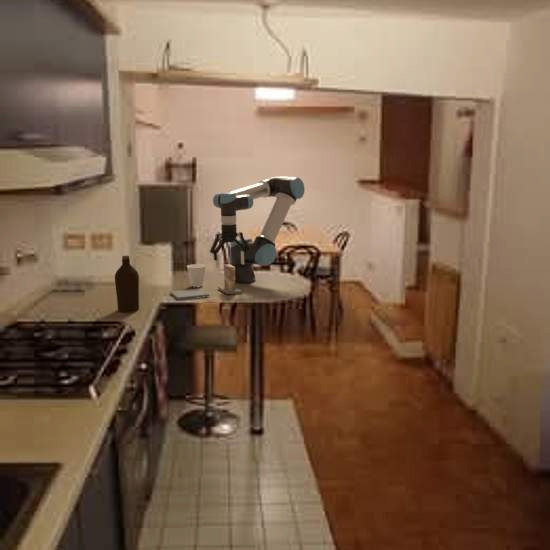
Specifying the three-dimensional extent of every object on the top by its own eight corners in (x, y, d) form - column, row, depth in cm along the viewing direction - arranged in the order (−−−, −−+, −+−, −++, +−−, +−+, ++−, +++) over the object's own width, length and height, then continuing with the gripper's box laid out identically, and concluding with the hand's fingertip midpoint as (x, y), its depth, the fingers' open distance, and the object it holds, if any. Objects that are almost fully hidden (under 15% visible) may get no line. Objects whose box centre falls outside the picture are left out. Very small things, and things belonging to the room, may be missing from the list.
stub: (232, 287, 325) (232, 262, 322) (242, 293, 312) (241, 267, 310) (218, 288, 322) (217, 263, 319) (227, 294, 309) (226, 268, 306)
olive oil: (137, 313, 277) (134, 258, 272) (113, 313, 277) (110, 258, 272) (142, 307, 287) (140, 254, 282) (120, 306, 288) (117, 253, 282)
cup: (207, 284, 333) (207, 264, 330) (203, 288, 323) (203, 268, 321) (189, 284, 334) (189, 264, 331) (185, 288, 324) (184, 267, 322)
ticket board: (201, 290, 318) (200, 287, 318) (209, 297, 306) (209, 293, 305) (170, 294, 312) (170, 290, 311) (177, 300, 299) (177, 297, 299)
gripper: (249, 221, 318) (250, 261, 323) (202, 224, 308) (204, 266, 313) (254, 222, 311) (255, 264, 316) (207, 226, 302) (209, 269, 306)
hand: (230, 265), depth 315 cm, fingers open, 13 cm apart
